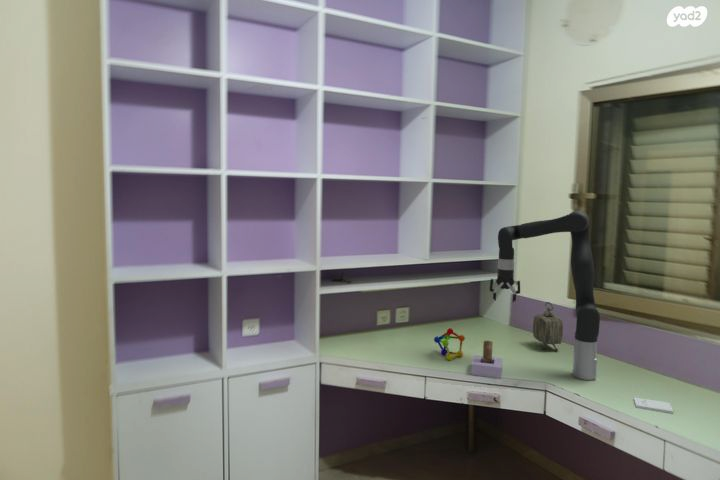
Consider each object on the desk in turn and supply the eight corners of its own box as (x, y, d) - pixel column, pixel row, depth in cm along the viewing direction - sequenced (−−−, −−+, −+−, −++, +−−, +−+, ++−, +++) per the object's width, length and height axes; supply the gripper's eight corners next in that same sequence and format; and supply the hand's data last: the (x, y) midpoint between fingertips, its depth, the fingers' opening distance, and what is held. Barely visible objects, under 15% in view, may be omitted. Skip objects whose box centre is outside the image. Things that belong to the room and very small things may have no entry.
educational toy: (442, 352, 252) (445, 323, 251) (465, 358, 244) (467, 328, 243) (427, 357, 240) (430, 327, 239) (450, 363, 232) (453, 332, 231)
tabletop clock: (561, 352, 251) (564, 305, 248) (545, 353, 249) (548, 306, 247) (546, 343, 265) (549, 299, 262) (531, 344, 263) (533, 299, 261)
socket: (501, 368, 227) (502, 358, 227) (501, 378, 215) (501, 367, 214) (473, 364, 231) (474, 354, 231) (471, 374, 219) (471, 364, 218)
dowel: (491, 370, 224) (492, 341, 223) (491, 373, 221) (492, 343, 219) (482, 369, 226) (483, 340, 224) (482, 372, 222) (483, 342, 220)
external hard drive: (673, 415, 183) (635, 408, 188) (669, 406, 190) (633, 400, 195) (673, 410, 183) (636, 404, 188) (669, 402, 190) (633, 396, 195)
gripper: (490, 268, 231) (488, 301, 233) (521, 270, 227) (519, 303, 228) (490, 266, 238) (489, 298, 240) (521, 267, 234) (519, 300, 236)
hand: (504, 300), depth 234 cm, fingers open, 8 cm apart
